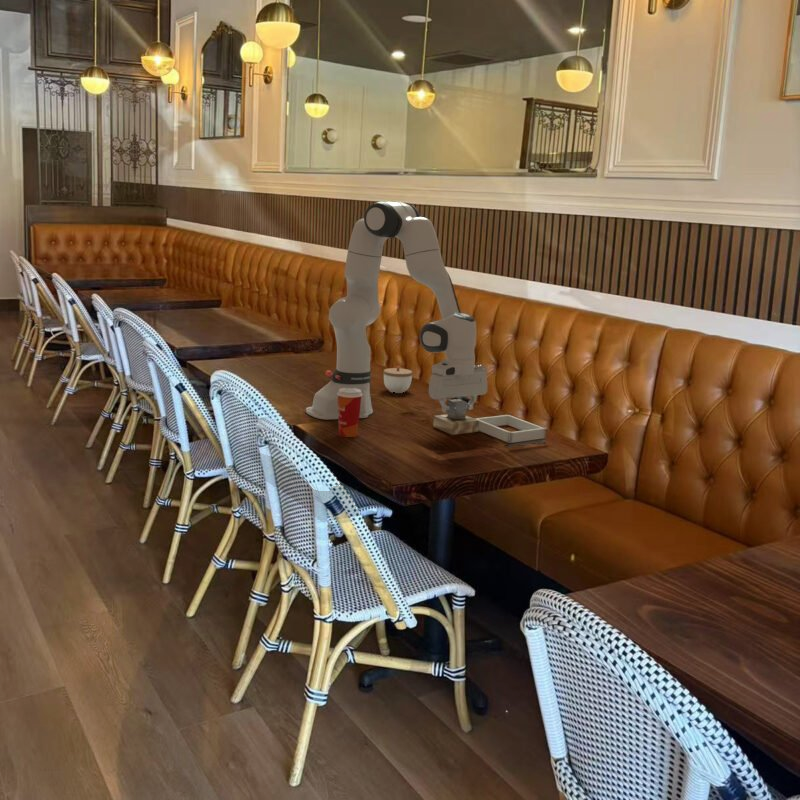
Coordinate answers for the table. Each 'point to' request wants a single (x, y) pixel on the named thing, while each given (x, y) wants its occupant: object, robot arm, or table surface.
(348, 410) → the paper cup
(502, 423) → the grey tray
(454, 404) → the pin
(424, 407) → the table surface
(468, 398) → the mobile phone
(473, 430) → the socket block
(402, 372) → the lidded jar
